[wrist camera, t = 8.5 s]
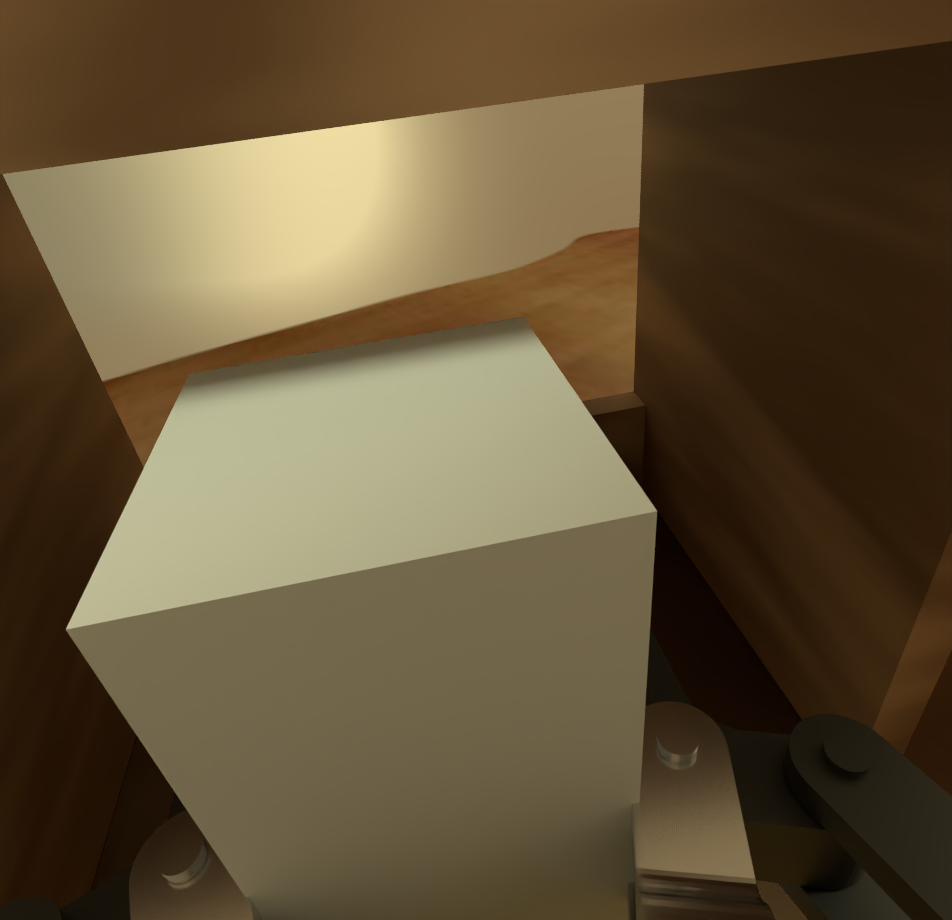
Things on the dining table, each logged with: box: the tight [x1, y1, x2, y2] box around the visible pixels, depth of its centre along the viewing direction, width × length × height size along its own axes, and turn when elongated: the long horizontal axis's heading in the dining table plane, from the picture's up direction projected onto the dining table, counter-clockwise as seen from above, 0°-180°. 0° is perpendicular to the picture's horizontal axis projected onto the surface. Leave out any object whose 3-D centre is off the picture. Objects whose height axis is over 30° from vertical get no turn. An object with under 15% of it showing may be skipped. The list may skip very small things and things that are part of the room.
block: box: [66, 317, 657, 920], centre depth 10 cm, size 4×4×12 cm
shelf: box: [0, 0, 952, 908], centre depth 16 cm, size 21×14×18 cm
